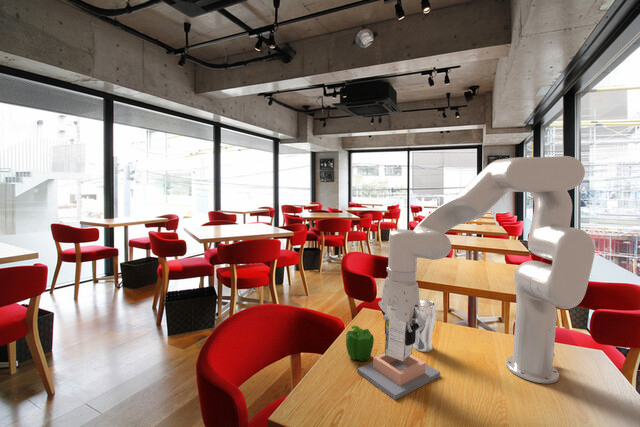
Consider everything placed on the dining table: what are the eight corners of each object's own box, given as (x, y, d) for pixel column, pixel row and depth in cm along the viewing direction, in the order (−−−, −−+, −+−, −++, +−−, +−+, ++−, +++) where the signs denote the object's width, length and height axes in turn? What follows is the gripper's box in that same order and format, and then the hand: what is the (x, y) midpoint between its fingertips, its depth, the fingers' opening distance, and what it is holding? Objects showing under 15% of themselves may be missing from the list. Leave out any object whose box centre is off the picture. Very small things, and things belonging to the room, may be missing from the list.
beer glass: (435, 354, 102) (437, 307, 101) (412, 351, 104) (414, 305, 102) (432, 343, 109) (434, 299, 108) (410, 341, 110) (412, 298, 109)
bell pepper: (375, 353, 103) (376, 322, 102) (369, 366, 95) (370, 333, 94) (350, 348, 106) (350, 318, 105) (342, 360, 98) (342, 328, 97)
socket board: (401, 354, 102) (401, 341, 102) (440, 376, 91) (440, 361, 90) (357, 372, 92) (357, 358, 92) (395, 400, 81) (395, 383, 80)
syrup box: (393, 347, 95) (395, 298, 93) (413, 354, 91) (415, 303, 90) (384, 355, 90) (386, 304, 89) (404, 362, 87) (406, 309, 85)
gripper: (369, 270, 94) (367, 330, 95) (419, 286, 79) (415, 356, 81) (388, 266, 98) (386, 324, 100) (438, 281, 84) (434, 348, 85)
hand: (399, 338), depth 90 cm, fingers closed on syrup box, 6 cm apart
